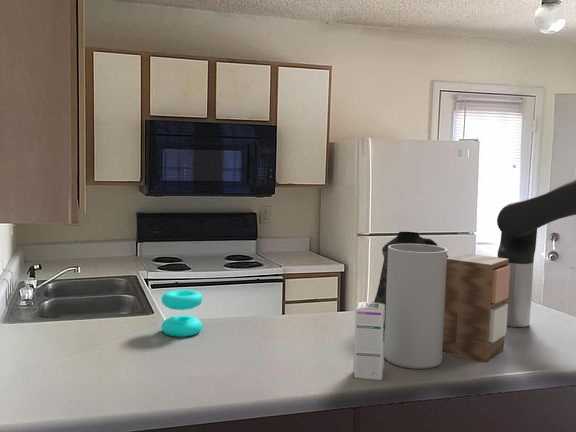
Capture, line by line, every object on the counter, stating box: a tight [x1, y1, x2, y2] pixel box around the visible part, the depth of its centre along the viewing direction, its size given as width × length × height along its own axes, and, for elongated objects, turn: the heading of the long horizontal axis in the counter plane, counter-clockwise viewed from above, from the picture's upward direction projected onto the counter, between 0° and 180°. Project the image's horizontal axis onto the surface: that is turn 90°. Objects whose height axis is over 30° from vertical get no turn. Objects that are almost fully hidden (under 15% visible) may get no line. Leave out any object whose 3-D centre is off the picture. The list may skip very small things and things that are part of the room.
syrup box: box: [353, 301, 385, 381], centre depth 119 cm, size 6×6×14 cm
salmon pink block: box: [491, 265, 510, 303], centre depth 132 cm, size 6×8×7 cm
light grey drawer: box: [489, 303, 508, 343], centre depth 133 cm, size 6×8×7 cm
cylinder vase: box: [384, 244, 448, 370], centre depth 127 cm, size 12×12×25 cm
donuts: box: [161, 289, 203, 338], centre depth 145 cm, size 10×10×10 cm
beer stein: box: [373, 231, 449, 332], centre depth 155 cm, size 16×19×25 cm
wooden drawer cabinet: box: [442, 252, 509, 363], centre depth 134 cm, size 11×11×22 cm
